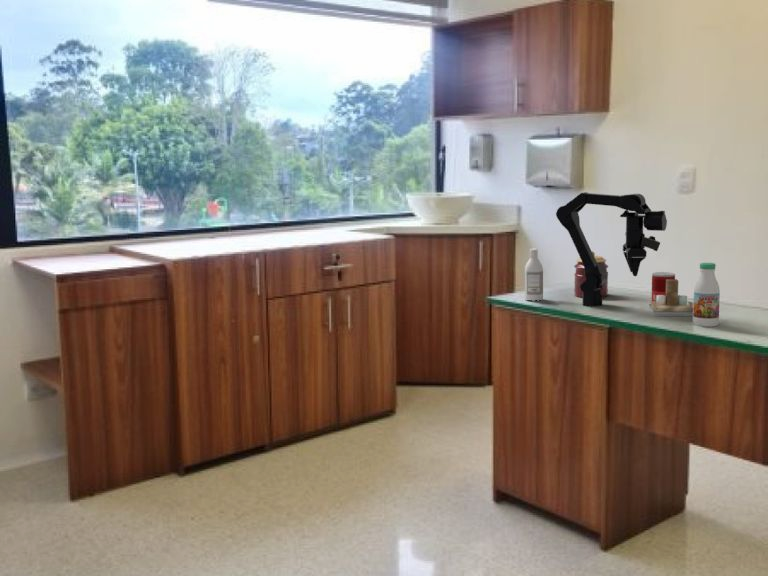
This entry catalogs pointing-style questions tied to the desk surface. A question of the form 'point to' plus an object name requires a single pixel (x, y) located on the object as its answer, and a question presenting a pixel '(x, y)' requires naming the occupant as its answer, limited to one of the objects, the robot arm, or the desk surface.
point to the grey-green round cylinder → (682, 300)
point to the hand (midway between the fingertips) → (633, 274)
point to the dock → (670, 312)
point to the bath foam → (534, 277)
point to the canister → (581, 278)
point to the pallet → (671, 308)
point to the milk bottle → (706, 297)
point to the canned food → (660, 283)
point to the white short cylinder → (660, 300)
